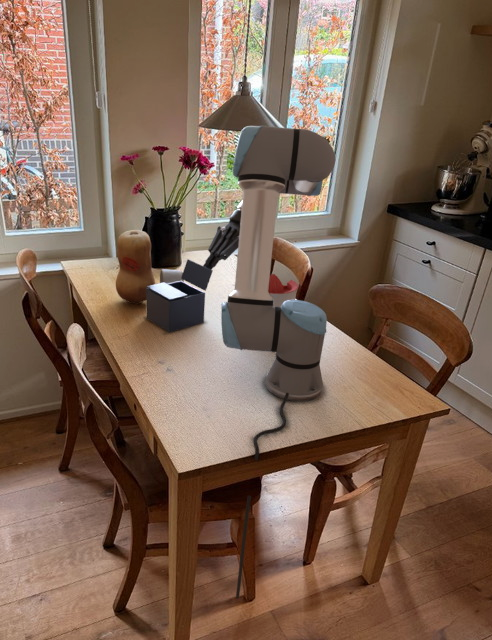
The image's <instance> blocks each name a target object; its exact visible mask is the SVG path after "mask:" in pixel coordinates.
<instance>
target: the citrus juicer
mask: <svg viewBox="0 0 492 640" xmlns="http://www.w3.org/2000/svg"><path fill="white" fill-rule="evenodd" d="M298 287H299V286H298V284H297V282H296V281H294V280H293V279H290V280H289V281H287V283H286V285H285V284H283V282H282V281H281V279H280V278H279V277H278V276H277V275H276V274H275V273H272V274H270V279H269V289H268V292H269V294H270V295H271V297H272V298H273V307H281V306H282V304H283V303H284V302H285V301H287V300H290V301H291V300H296V296H297V291H298Z"/></svg>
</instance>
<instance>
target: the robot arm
mask: <svg viewBox="0 0 492 640" xmlns="http://www.w3.org/2000/svg"><path fill="white" fill-rule="evenodd" d="M335 165H336V154H335V150H334V149H333V146H332V145H331V143H330V142H329V141H328V140H327V138H324V136H322V135H320V133H319V134H318V133H317V132H315V131H312V130H311V129H306V128H291V127H280V126H269V125H268V126H267V125H261V124H260V125H247V126H245V127H243V129H241V131H240V134H239V136H238V140H237V144H236V150H235V154H234V161H233V167H232V175H233V177H235V178H237V185H238V187H239V188H240V189H241V191H242V200H241V202H240V203H239V204H238V205H237V206H236V209H235V210H234V211H233V212H232V213H231V215H230V217H229V221H228V222H227V224H225V226H223V227H221V226H218V227H217V228H216V233H215V235H214V237H213V239H212V240H211V243H210V245H209V247H208V249H207V251H208V253H209V256H208V257H207V258H206V259H205V262H204V264H202V266H204V267H206V268H208V269H211V270H213V269H214V268H216V266H217V264H218V263H219V262H220V261H222V260H223V261H226V260H228V258H229V257H230V256H231V255H233V253H235V251H237V257H236V258H237V259H236V269H235V281H234V289H233V291H231V292H230V293H229V294H228V295H227V301H224V302H221V306H220V307H221V308H220V309H221V313H220V315H221V316H220V317H221V319H220V320H221V335H222V342H223V345H224V346H225V347H226V348H229V349H236V350H240V351H242V350H246V351H257V352H265V353H266V352H268V353H275V359H274V360H273V362H272V364H271V366H270V368H269V369H268V372H267V374H266V376H265V387H266V389H267V391H269V393H271V394H273V395H274V396H276V397H278V398H280V399H282V402H281V404H280V406H279V414H280V417H281V419H282V424H281V425H280V426H278V427H274V428H270V429H265V430H262V431H260V432H258V433H257V434H256V435H254V437H253V439H252V440H253V441H252V442H253V446H254V461H256V462H257V461H259V457H260V448H259V444H258V439H259V438H260V437H262V436H263V435H266V434H272V433H277V432H279V431H281V430H283V429H284V428H285V427H286V425H287V418H286V415H285V413H284V407H285V404H286V403H287V401H290V402H291V401H292V402H309V401H312V400H315V399H317V398H318V397H320V396H321V395H322V393H323V388H324V381H323V380H324V379H323V375H322V370H321V359H322V353H323V346H324V341H325V337H326V336H325V335H326V333H327V323H328V318H327V314H326V312H325V311H324V310H323V309H322V308H321V307H320V306H317V305H316V304H314V303H311V302H310V301H309V302H308V301H304V300H301V299H300V300H299V299H295V300H291V301H290V300H287V301H285V302H284V303H283V304H282V306H281V307H273V298H272V297H271V295H270V294H269V292H268V289H269V279H270V275H271V270H272V269H271V268H272V259H273V257H272V256H273V249H274V248H273V247H274V237H275V228H276V227H275V226H276V218H277V216H276V215H277V207H278V197H279V194H282V195H283V194H284V195H297V196H307V197H318V196H320V194H321V192H322V188H323V182H324V181H325V180H326V179H327V178H328V177H329V176H330V175H331V173H332V172H333V170H334V168H335ZM251 500H252V495H247V497H246V505H245V513H244V520H243V530H242V539H241V546H240V547H241V548H240V556H239V565H238V576H237V583H236V584H237V586H236V593H235V599H236V600H238V599H239V598H240V592H241V585H242V584H241V583H242V576H243V567H244V566H243V565H244V557H245V549H246V540H247V532H248V531H247V530H248V524H249V515H250V507H251Z"/></svg>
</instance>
